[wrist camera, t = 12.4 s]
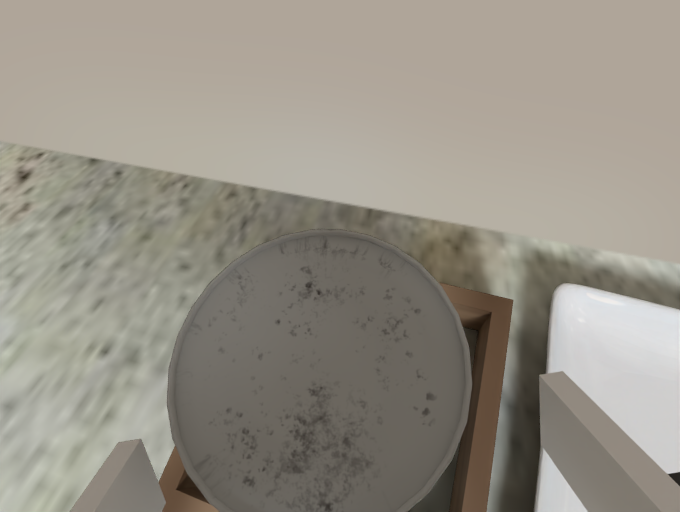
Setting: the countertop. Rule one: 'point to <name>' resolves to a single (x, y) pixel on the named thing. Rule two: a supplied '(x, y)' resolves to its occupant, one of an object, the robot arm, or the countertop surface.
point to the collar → (480, 431)
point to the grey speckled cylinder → (319, 379)
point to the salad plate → (615, 375)
